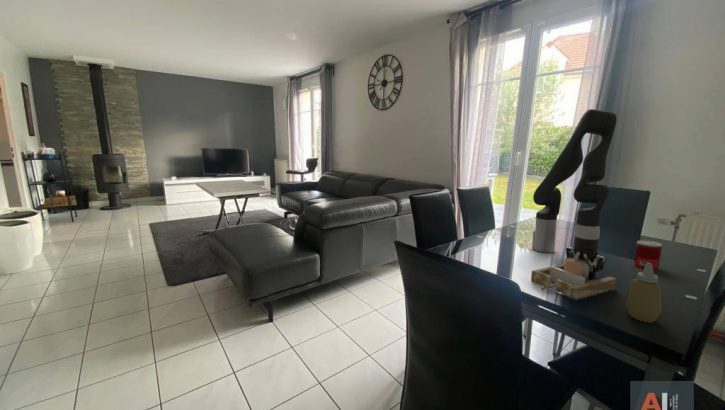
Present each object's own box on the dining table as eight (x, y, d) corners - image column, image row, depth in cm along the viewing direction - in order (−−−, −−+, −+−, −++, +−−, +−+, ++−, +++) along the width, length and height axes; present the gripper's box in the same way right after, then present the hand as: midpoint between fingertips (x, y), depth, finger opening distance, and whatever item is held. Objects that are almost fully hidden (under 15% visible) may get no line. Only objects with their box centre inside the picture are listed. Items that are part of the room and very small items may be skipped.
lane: (531, 281, 121) (531, 269, 120) (567, 272, 128) (568, 261, 127) (575, 301, 105) (577, 288, 104) (614, 289, 112) (616, 277, 111)
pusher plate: (526, 285, 117) (527, 271, 116) (550, 279, 122) (552, 265, 121) (558, 300, 105) (559, 284, 104) (583, 293, 110) (585, 278, 109)
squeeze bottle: (617, 312, 97) (624, 259, 94) (640, 310, 98) (648, 258, 95) (642, 326, 89) (651, 269, 86) (667, 324, 90) (676, 268, 87)
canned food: (663, 270, 126) (667, 246, 124) (641, 269, 128) (644, 245, 126) (650, 263, 134) (653, 240, 132) (629, 263, 135) (632, 240, 133)
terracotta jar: (559, 283, 118) (560, 259, 117) (569, 280, 120) (571, 256, 119) (574, 289, 113) (576, 264, 111) (585, 286, 115) (587, 261, 113)
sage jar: (570, 279, 120) (572, 258, 118) (580, 276, 122) (582, 255, 120) (585, 284, 115) (587, 263, 113) (594, 281, 117) (596, 260, 115)
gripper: (614, 239, 110) (609, 282, 113) (574, 230, 123) (571, 268, 126) (600, 242, 107) (596, 286, 110) (562, 232, 120) (558, 272, 123)
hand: (582, 276), depth 118 cm, fingers closed on sage jar, 5 cm apart
